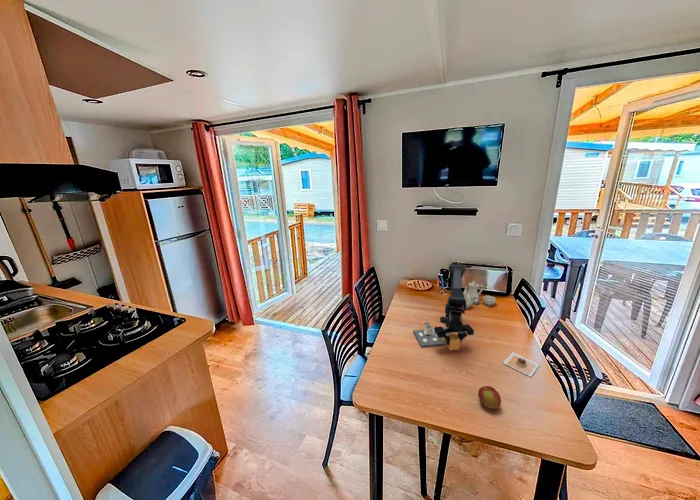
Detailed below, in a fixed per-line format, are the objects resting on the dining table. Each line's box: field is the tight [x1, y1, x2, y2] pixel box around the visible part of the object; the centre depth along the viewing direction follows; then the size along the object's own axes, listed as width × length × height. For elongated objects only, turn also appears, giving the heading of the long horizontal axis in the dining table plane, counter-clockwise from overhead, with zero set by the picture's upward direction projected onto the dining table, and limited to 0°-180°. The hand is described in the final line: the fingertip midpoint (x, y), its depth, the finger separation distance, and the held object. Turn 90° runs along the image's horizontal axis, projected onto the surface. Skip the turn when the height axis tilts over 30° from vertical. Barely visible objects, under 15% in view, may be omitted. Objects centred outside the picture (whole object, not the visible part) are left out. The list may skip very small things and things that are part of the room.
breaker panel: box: [412, 327, 454, 349], centre depth 149 cm, size 21×14×2 cm, turn 95°
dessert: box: [502, 351, 541, 377], centre depth 127 cm, size 12×12×5 cm
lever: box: [423, 321, 432, 335], centre depth 150 cm, size 3×4×6 cm
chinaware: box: [462, 280, 498, 310], centre depth 183 cm, size 28×17×17 cm, turn 104°
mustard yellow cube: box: [446, 333, 461, 351], centre depth 138 cm, size 5×5×6 cm
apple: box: [477, 385, 502, 410], centre depth 106 cm, size 8×8×8 cm
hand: (452, 344), depth 138 cm, fingers closed on mustard yellow cube, 5 cm apart
